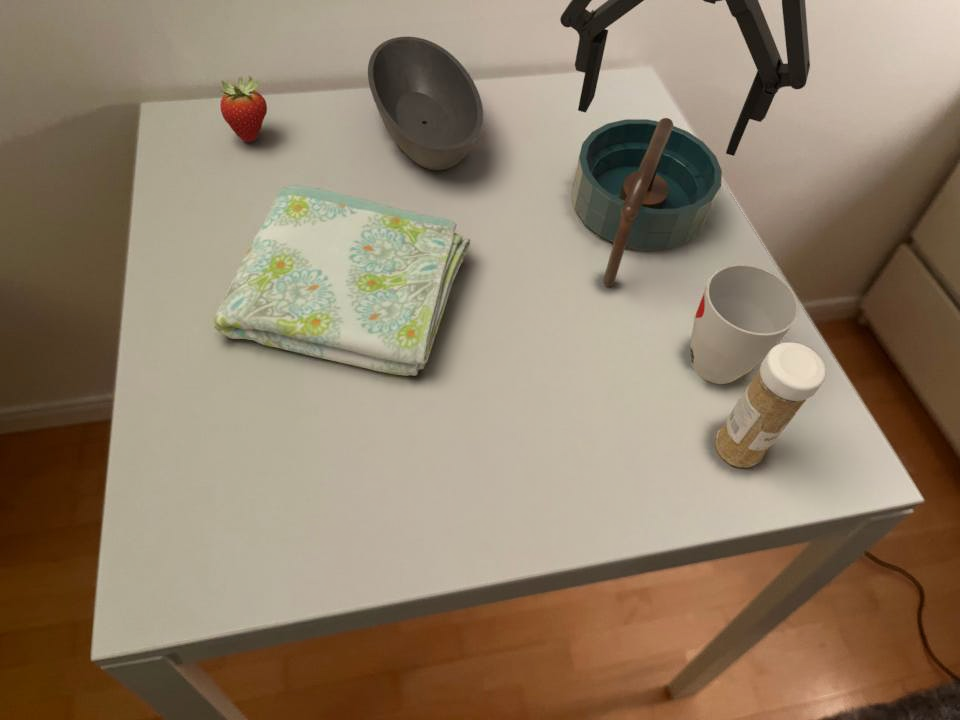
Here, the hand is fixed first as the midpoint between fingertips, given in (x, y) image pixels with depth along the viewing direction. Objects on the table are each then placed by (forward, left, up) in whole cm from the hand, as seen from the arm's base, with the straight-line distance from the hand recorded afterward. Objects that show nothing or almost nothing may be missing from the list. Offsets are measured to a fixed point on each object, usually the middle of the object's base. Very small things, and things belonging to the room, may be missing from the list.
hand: (657, 124), depth 66 cm
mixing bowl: (+7, -7, -18) cm, 20 cm away
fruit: (+32, +32, -18) cm, 49 cm away
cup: (-16, -3, -18) cm, 24 cm away
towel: (+5, +28, -18) cm, 34 cm away
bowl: (+27, +12, -18) cm, 34 cm away
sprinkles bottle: (-25, +1, -18) cm, 30 cm away
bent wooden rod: (+2, -2, -17) cm, 17 cm away
